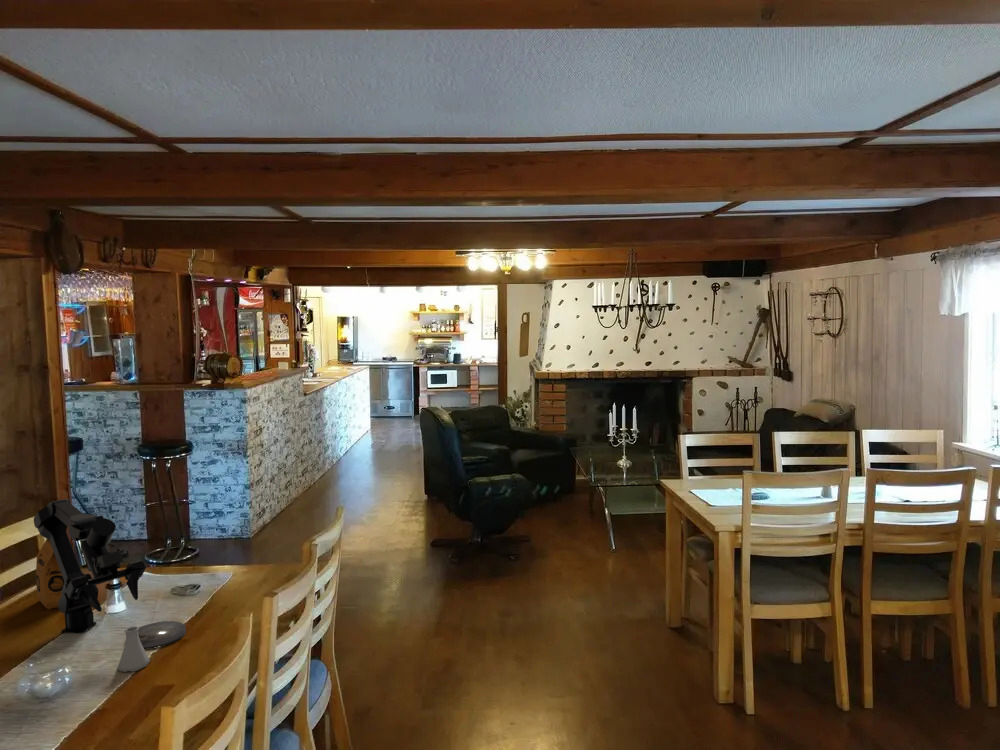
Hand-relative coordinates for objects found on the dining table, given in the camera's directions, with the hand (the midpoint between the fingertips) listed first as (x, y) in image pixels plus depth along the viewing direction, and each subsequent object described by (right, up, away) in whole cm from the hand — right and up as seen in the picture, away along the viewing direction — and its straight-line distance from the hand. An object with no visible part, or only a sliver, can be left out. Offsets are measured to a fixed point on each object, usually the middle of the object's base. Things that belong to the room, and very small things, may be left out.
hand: (119, 604), depth 182 cm
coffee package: (-41, -12, +37) cm, 56 cm away
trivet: (+4, -13, +12) cm, 18 cm away
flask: (+6, -15, -4) cm, 16 cm away
